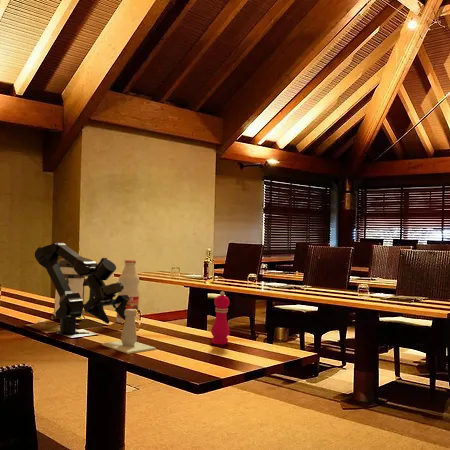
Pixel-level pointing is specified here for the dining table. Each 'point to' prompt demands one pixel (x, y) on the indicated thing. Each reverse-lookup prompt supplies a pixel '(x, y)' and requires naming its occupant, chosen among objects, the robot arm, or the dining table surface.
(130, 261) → the fruit juice
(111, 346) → the sage mat
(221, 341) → the pepper mill
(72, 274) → the coffee press
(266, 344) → the dining table surface
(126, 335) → the salt shaker
